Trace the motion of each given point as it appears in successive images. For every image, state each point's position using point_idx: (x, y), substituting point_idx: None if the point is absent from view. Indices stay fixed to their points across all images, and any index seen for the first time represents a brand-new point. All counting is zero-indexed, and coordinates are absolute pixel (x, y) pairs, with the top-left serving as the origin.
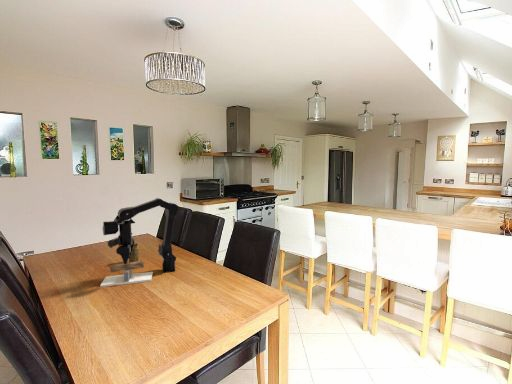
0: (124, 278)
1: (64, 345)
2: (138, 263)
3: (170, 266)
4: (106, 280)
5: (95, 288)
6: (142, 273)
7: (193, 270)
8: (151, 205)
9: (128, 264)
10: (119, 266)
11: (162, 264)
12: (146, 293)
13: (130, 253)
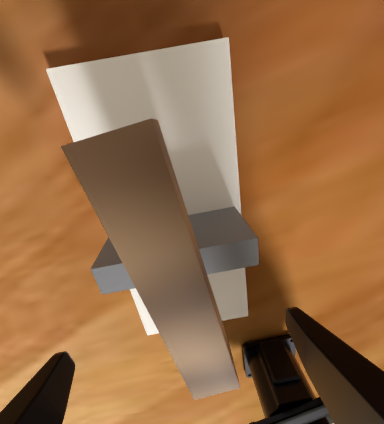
0: (107, 243)
1: None
2: (183, 373)
3: (256, 389)
4: (141, 83)
5: (22, 35)
6: (235, 279)
7: (240, 412)
8: None
9: (154, 323)
10: (120, 247)
11: (273, 376)
12: (18, 346)
13: (329, 410)
